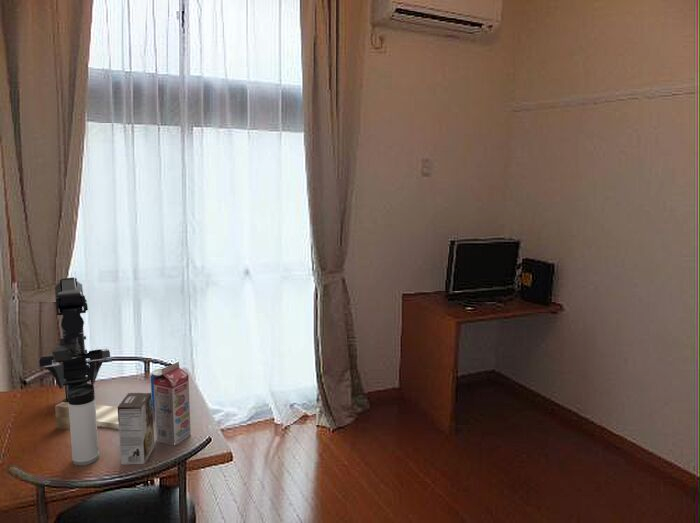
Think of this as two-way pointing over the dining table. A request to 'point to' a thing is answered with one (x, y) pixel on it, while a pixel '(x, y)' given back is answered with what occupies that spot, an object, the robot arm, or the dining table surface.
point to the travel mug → (83, 424)
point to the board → (107, 416)
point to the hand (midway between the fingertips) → (77, 386)
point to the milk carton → (172, 405)
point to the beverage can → (154, 374)
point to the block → (62, 416)
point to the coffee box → (136, 428)
